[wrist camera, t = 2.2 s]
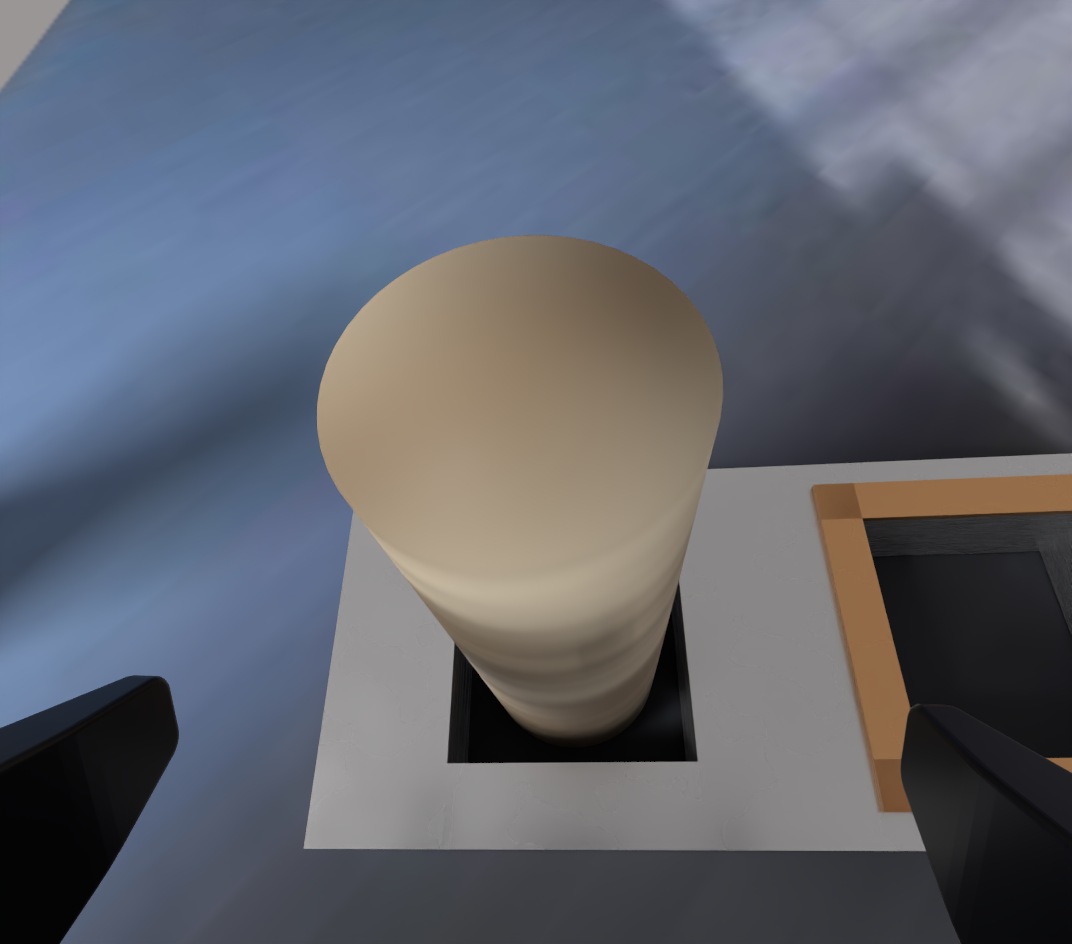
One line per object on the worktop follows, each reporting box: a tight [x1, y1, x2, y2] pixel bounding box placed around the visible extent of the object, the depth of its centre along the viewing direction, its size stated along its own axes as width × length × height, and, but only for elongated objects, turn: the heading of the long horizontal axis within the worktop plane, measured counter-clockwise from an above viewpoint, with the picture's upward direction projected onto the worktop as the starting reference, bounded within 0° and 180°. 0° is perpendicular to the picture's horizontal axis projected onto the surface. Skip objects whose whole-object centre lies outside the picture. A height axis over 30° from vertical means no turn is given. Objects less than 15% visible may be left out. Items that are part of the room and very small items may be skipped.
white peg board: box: [304, 453, 1072, 851], centre depth 17 cm, size 22×9×3 cm, turn 90°
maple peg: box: [317, 235, 723, 748], centre depth 13 cm, size 4×4×13 cm
